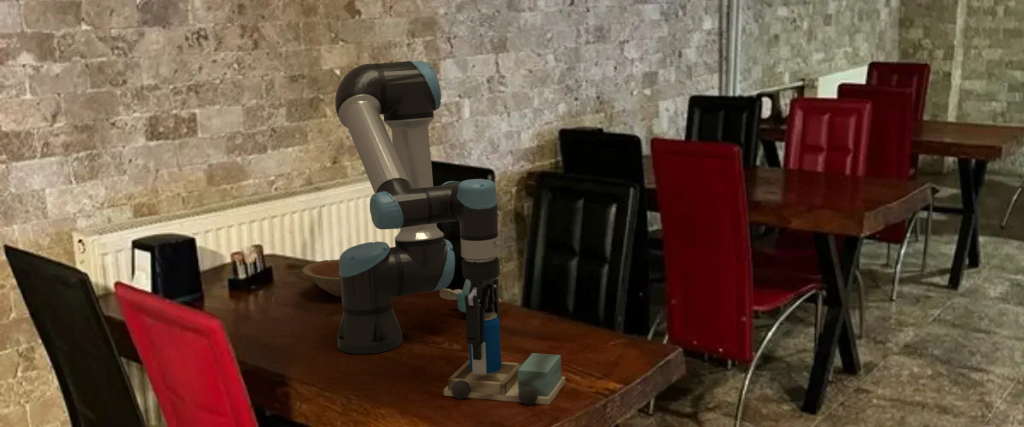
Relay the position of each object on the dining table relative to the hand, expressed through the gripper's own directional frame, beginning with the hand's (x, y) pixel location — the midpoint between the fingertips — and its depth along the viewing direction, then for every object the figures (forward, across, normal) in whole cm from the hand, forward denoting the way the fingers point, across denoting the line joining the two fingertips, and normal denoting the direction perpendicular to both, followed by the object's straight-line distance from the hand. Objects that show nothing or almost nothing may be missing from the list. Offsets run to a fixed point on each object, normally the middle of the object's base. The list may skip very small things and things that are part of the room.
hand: (485, 367), depth 203 cm
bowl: (+5, +58, +61) cm, 84 cm away
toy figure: (+5, +46, +19) cm, 50 cm away
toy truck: (+4, 0, -4) cm, 6 cm away
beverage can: (+1, 0, 0) cm, 1 cm away
